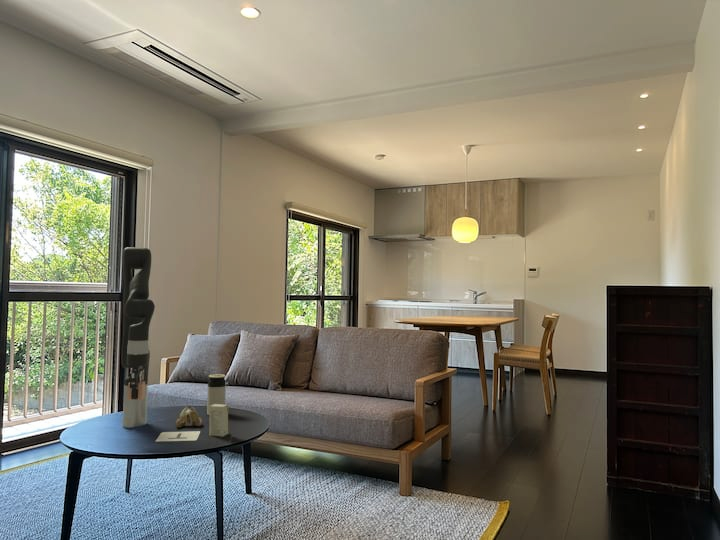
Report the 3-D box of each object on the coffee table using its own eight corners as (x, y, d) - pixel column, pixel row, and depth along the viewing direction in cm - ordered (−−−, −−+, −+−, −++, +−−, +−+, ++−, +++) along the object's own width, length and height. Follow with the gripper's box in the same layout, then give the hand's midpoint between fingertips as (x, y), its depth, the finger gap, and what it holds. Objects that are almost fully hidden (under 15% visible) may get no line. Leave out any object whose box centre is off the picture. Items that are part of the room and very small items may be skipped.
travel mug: (218, 416, 241) (220, 377, 242) (203, 415, 243) (204, 376, 244) (227, 413, 249) (229, 374, 249) (213, 411, 251) (214, 373, 251)
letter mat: (161, 433, 212) (161, 432, 212) (200, 432, 214) (200, 431, 214) (155, 443, 199) (155, 441, 199) (196, 441, 202) (196, 440, 202)
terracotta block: (130, 397, 201) (131, 381, 201) (144, 396, 201) (145, 381, 202) (127, 399, 196) (128, 383, 196) (141, 399, 197) (142, 383, 197)
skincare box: (228, 435, 212) (229, 404, 212) (223, 438, 207) (224, 406, 208) (213, 433, 213) (214, 403, 214) (208, 436, 209) (209, 405, 209)
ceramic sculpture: (201, 400, 233) (202, 410, 219) (201, 420, 234) (202, 431, 219) (176, 402, 230) (175, 412, 216) (175, 422, 230) (175, 433, 216)
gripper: (131, 349, 206) (130, 393, 205) (122, 354, 191) (120, 401, 191) (152, 349, 207) (150, 393, 206) (144, 354, 193) (142, 401, 192)
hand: (136, 397), depth 199 cm, fingers closed on terracotta block, 5 cm apart
